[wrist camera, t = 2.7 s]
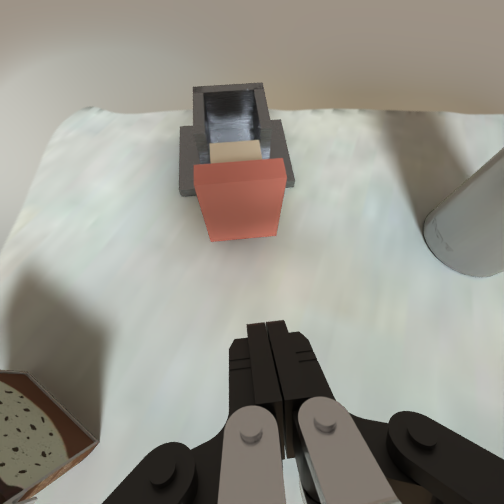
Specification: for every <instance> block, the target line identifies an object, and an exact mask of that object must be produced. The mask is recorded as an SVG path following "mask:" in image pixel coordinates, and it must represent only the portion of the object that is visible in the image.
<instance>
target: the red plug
mask: <svg viewBox="0 0 504 504" xmlns="http://www.w3.org/2000/svg"><path fill="white" fill-rule="evenodd" d="M210 162H211V164H199V165H194V187H195V191H196V194H197V197H198V201H199V204H200V207H201V211H202V214H203V217H204V221H205V224H206V227H207V231H208V234H209V237H210V241H211V242H214V241H225V240H235V239H246V238H256V237H267V236H276V234H277V228H278V223H279V218H280V212H281V207H282V202H283V196H284V191H285V186H286V180H287V175H286V170H285V166H284V161H283V158H275V159H262V155H261V149H260V143H259V140H250V141H237V142H223V143H210Z"/></svg>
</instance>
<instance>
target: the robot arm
mask: <svg viewBox="0 0 504 504" xmlns="http://www.w3.org/2000/svg"><path fill="white" fill-rule="evenodd" d="M423 229H424V236H425V239H426V242H427V244H428V246H429V248H430V249H431V251H432V252H433V253H434V254H435V256H436V257H437V258H438V259H439V260H441V261H442V262H443V263H444V264H445V265H447V266H448V267H450V268H452V269H453V270H455V271H458V272H460V273H462V274H465V275H469V276H474V277H488V276H492V275H495V274H498V273H500V272H503V271H504V147H503V148H502V149H501V150H500V151H499V152H498V153H497V154H496V155H494V156H493V157H492V158H491V159H490V160H489V161H488V162H487V163H486V164H484V165H483V166H482V167H481V168H480V169H479V170H478V171H477V172H475V173H474V174H473V175H472V176H471V177H470V178H469V179H468V180H466V181H465V182H464V183H463V184H462V185H461V186H460V187H459V188H457V189H456V190H455V191H454V192H453V193H452V194H451V195H449V196H448V197H447V198H446V199H445V200H444V201H443V202H442V203H441V204H439V205H438V206H437V207H436V208H435V209H434V210H433V211H432V212H431V213H430V214H429V215H428V216H427V218H426V220H425V222H424V228H423ZM247 334H248V338H241V339H234V341H233V343H232V345H231V347H230V348H229V415H228V419H227V421H226V424H225V425H224V427H223V428H222V430H221V431H220V432H219V433H218V434H217V435H216V436H215V437H214V438H212V439H211V440H209V441H207V442H205V443H203V444H201V445H199V446H197V447H195V448H193V449H191V450H190V449H189V448H188V447H187V446H186V445H184V444H182V443H179V442H169V443H165V444H163V445H160V446H158V447H157V448H155V449H153V450H152V451H151V452H150V453H148V454H147V455H146V456H145V457H144V459H143V460H142V461H141V462H140V463H139V464H138V465H137V466H136V467H135V468H134V469H133V470H132V472H131V473H130V474H129V475H128V476H127V477H126V478H125V479H124V480H123V481H122V482H121V483H120V485H119V486H118V487H117V488H116V489H115V490H114V491H113V492H112V493H111V494H110V495H109V496H108V497H107V499H106V500H105V501H104V502H103V503H102V504H286V498H285V489H284V479H283V463H282V460H283V459H285V450H286V456H287V459H289V458H296V463H297V467H298V472H299V487H300V492H301V496H302V499H303V503H304V504H504V460H503V459H502V458H500V457H498V456H496V455H495V454H493V453H491V452H489V451H487V450H486V449H484V448H482V447H480V446H479V445H477V444H475V443H473V442H471V441H470V440H468V439H466V438H464V437H463V436H461V435H459V434H457V433H455V432H454V431H452V430H450V429H448V428H447V427H445V426H443V425H441V424H439V423H438V422H436V421H434V420H432V419H430V418H429V417H427V416H425V415H422V414H419V413H416V412H411V411H402V412H398V413H396V414H394V415H393V416H392V417H391V418H390V420H389V423H384V422H378V421H373V420H367V419H363V418H360V417H357V416H355V415H353V414H351V413H349V412H348V411H347V410H346V409H345V407H344V406H342V405H341V404H340V403H338V402H337V401H336V400H335V398H334V396H333V394H332V391H331V389H330V387H329V385H328V383H327V380H326V378H325V376H324V374H323V371H322V369H321V367H320V365H319V363H318V361H317V358H316V356H315V354H314V352H313V349H312V347H311V345H310V342H309V340H308V339H307V338H306V337H305V336H304V335H302V334H301V333H300V332H291V333H289V332H288V330H287V327H286V324H285V321H284V320H280V321H271V322H266V326H265V323H264V322H263V323H254V324H247ZM284 445H285V450H284Z"/></svg>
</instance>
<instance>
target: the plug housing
mask: <svg viewBox="0 0 504 504" xmlns="http://www.w3.org/2000/svg"><path fill="white" fill-rule="evenodd" d="M250 140H259V143H260V149H261V155H262V159H275V158H283V161H284V166H285V170H286V175H287V180H286V186H285V188H288V187H294V183H295V178H294V174H293V170H292V166H291V161H290V157H289V153H288V149H287V144H286V140H285V136H284V131H283V127H282V123H281V120H270V116H269V111H268V107H267V102H266V97H265V92H264V88H263V83H248V84H232V85H216V86H201V87H193V126H182V127H180V160H179V191H180V194H181V197H182V196H194V195H197V194H196V191H195V187H194V165H199V164H211V162H210V143H223V142H237V141H250Z"/></svg>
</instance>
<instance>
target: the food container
mask: <svg viewBox="0 0 504 504" xmlns="http://www.w3.org/2000/svg"><path fill="white" fill-rule="evenodd" d="M98 443H99V441H98V440H97V439H96V438H95V437H94V436H93V435H92V434H91V433H90V432H89V431H88V430H87V429H86V428H85V427H84V426H83V425H82V424H80V423H79V422H78V421H77V420H76V419H75V418H74V417H73V416H72V415H71V414H70V413H69V412H68V411H67V410H66V409H65V408H64V407H63V406H62V405H61V404H60V403H59V402H58V401H57V400H56V399H55V398H54V397H53V396H52V395H51V394H50V393H49V392H48V391H47V390H46V389H45V388H44V387H43V386H41V385H40V384H39V383H38V382H37V381H36V380H35V379H34V378H33V377H32V376H31V375H30V374H29V373H28V372H21V371H9V370H0V504H34V502H35V501H36V500H37V497H33V496H34V495H35V494H37V493H38V492H40V491H41V490H42V489H44V488H45V487H46V486H48V485H49V484H51V483H52V482H53V481H55V480H56V479H57V478H59V477H60V476H62V475H63V474H64V473H66V472H67V471H68V470H70V469H71V468H73V467H74V466H75V465H77V464H78V463H80V462H81V461H82V460H83V459H84V458H85V457H87V456H88V455H89V454H90V453H91V452H92V451H93V449H94V448H95V447H96V446H97V445H98ZM31 497H33V498H31Z"/></svg>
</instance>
